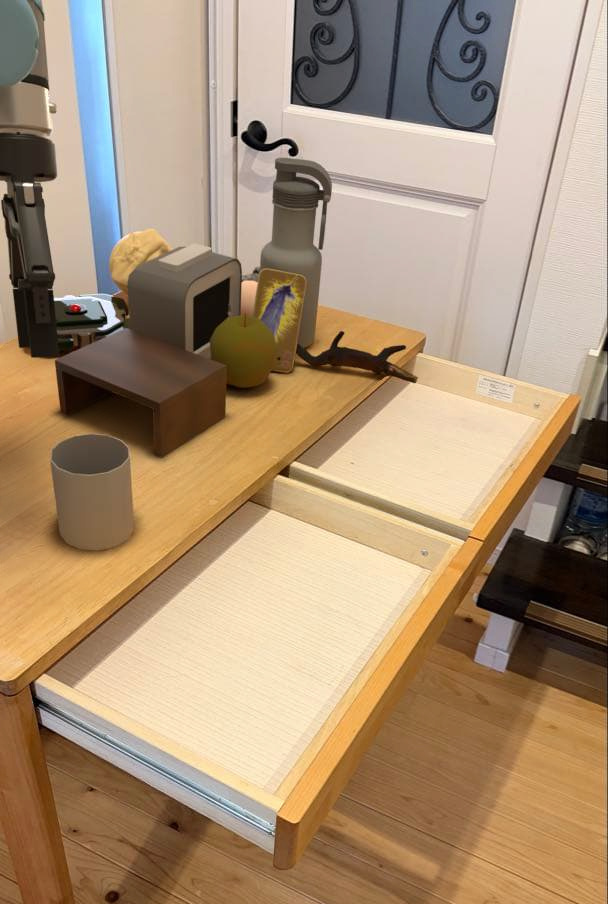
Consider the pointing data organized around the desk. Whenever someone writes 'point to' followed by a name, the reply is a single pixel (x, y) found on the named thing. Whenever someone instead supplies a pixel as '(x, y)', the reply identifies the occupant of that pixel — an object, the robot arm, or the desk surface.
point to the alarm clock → (184, 296)
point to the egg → (248, 297)
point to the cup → (93, 491)
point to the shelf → (147, 383)
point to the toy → (357, 359)
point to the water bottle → (298, 232)
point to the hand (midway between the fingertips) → (37, 352)
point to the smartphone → (281, 311)
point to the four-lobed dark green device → (88, 319)
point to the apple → (244, 350)
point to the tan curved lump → (134, 254)
